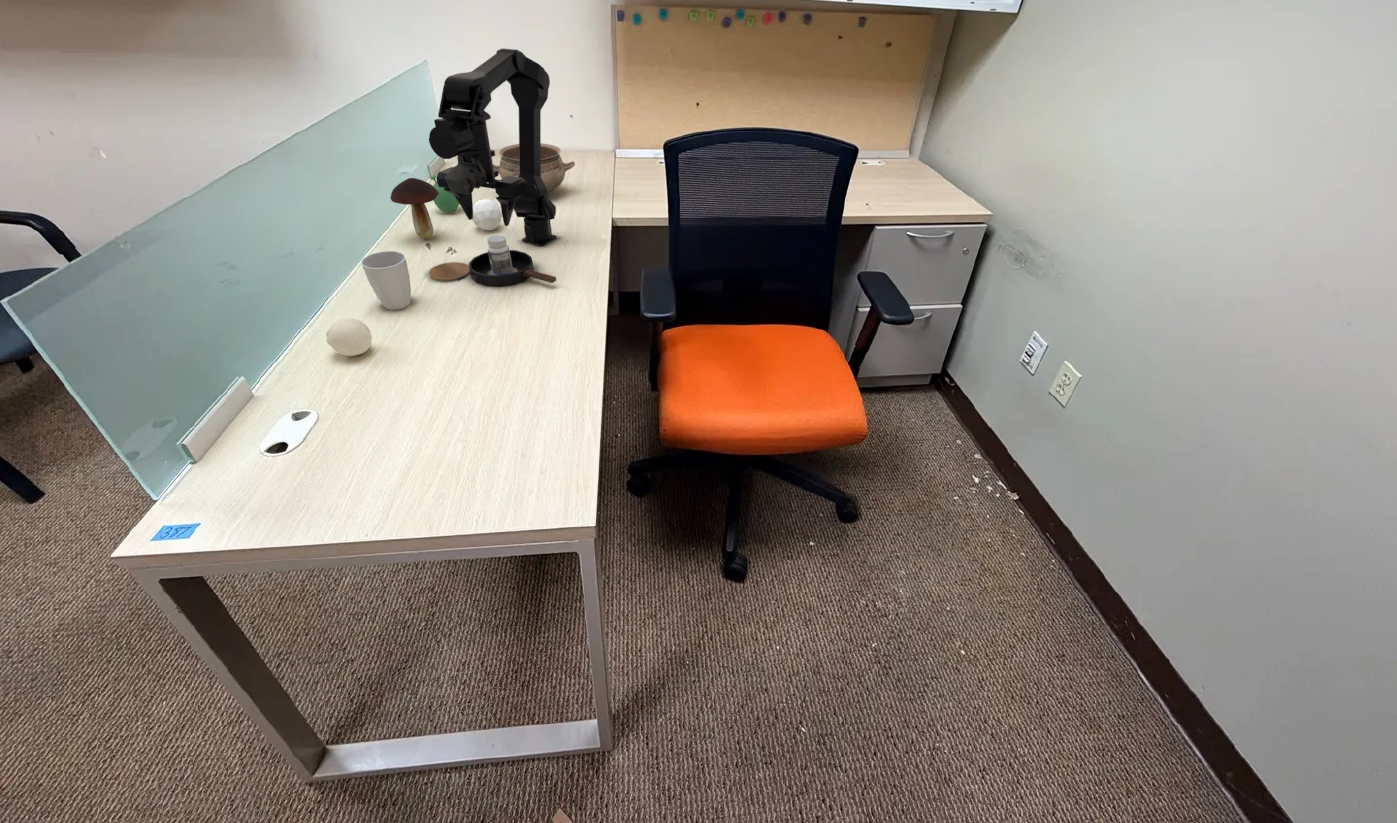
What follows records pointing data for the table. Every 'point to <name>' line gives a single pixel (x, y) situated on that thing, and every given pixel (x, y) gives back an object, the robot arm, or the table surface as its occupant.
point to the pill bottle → (499, 255)
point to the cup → (389, 278)
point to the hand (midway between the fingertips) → (488, 222)
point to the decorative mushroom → (417, 203)
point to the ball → (486, 214)
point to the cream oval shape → (349, 337)
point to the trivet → (449, 271)
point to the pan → (519, 261)
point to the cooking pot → (550, 164)
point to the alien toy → (444, 199)
